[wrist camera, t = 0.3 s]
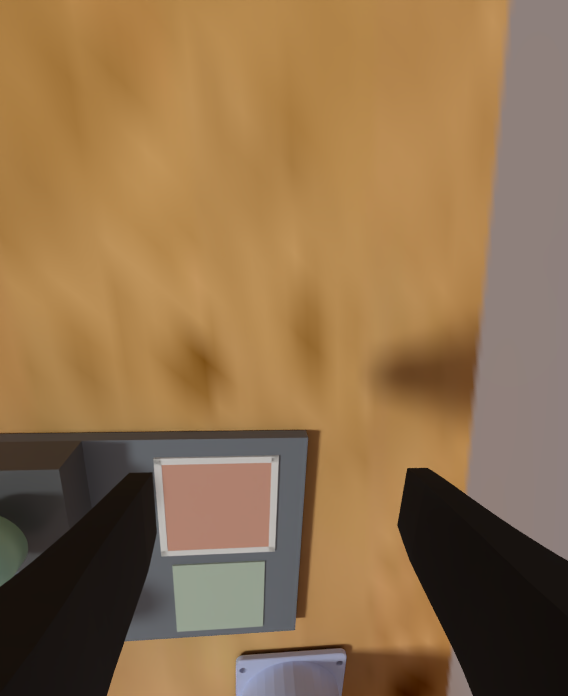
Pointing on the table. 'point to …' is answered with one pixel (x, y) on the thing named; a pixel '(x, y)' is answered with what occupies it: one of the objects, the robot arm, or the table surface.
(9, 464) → the button housing
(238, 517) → the activity board
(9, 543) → the button
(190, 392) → the table surface
